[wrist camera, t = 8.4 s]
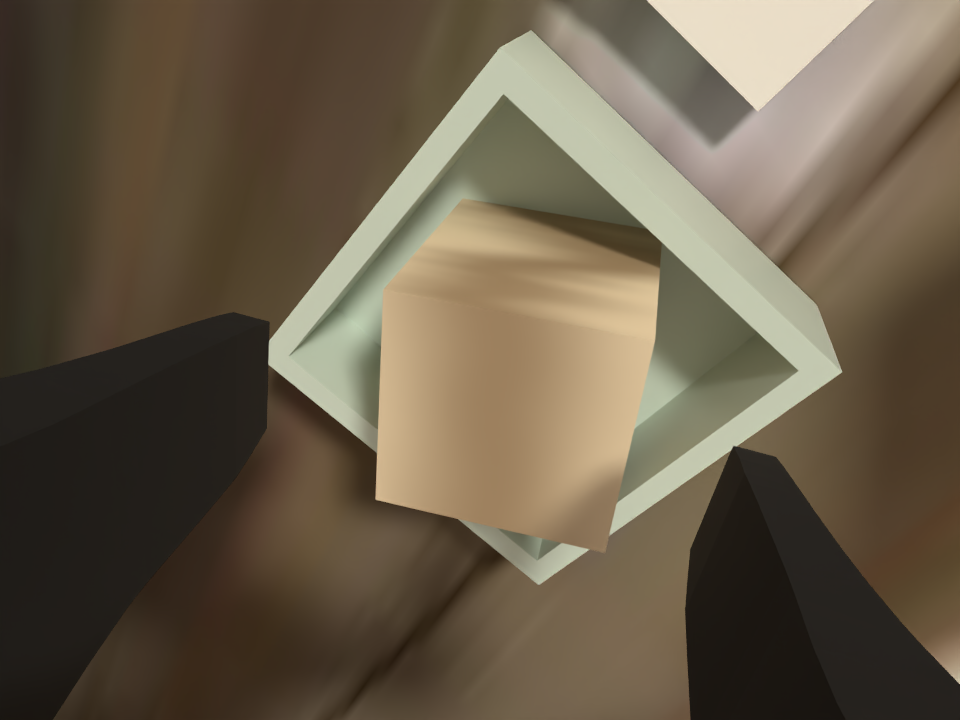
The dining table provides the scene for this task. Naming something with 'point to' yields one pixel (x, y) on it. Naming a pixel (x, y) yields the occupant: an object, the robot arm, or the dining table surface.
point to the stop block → (517, 370)
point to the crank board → (759, 37)
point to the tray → (590, 195)
